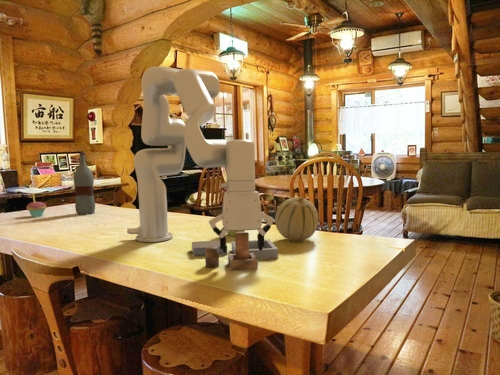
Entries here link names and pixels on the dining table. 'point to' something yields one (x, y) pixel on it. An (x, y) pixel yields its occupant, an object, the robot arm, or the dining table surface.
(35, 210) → the cupcake
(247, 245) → the dowel
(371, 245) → the dining table surface
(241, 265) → the socket block
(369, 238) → the dining table surface
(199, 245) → the grey rectangular block
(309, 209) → the cantaloupe
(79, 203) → the bottle
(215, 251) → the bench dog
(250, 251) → the tray
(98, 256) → the dining table surface
